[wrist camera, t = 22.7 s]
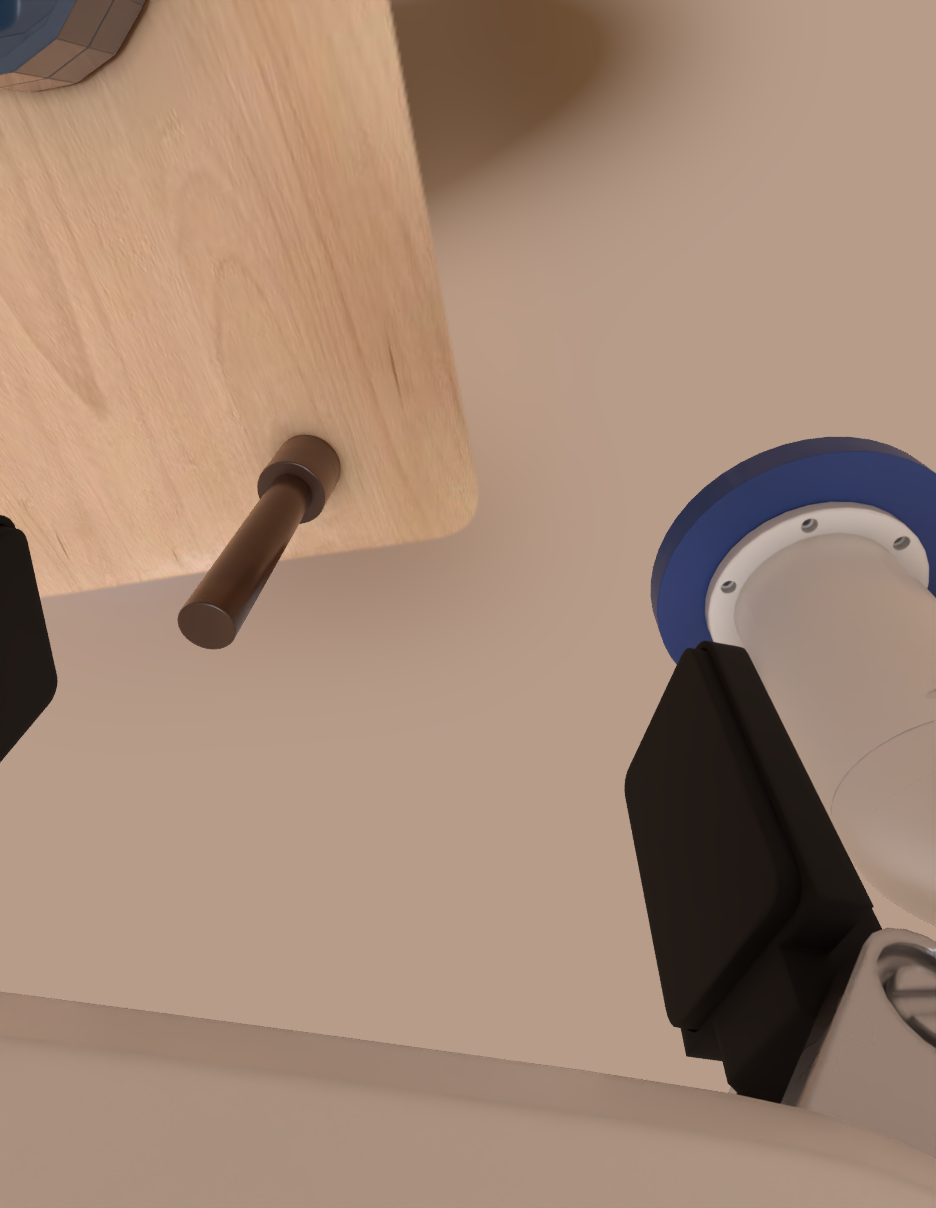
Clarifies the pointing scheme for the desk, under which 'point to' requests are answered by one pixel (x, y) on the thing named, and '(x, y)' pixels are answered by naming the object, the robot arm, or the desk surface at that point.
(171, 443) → the desk surface
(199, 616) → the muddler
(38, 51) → the bowl
